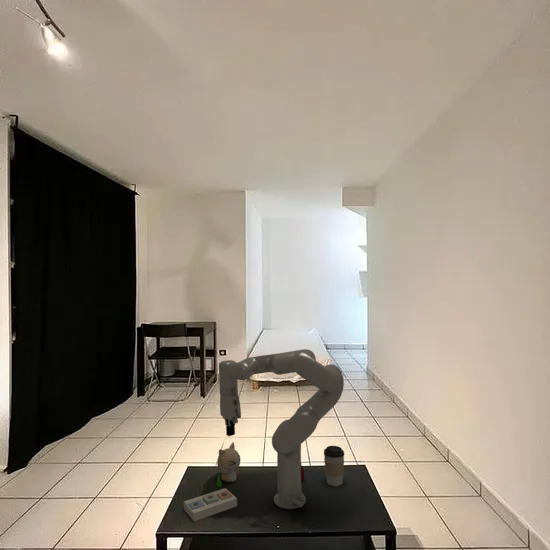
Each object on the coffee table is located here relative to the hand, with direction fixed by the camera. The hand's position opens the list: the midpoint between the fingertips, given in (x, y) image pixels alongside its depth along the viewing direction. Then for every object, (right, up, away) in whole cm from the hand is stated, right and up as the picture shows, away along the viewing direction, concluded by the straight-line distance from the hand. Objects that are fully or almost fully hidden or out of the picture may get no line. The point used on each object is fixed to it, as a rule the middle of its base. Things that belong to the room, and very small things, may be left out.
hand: (230, 434), depth 167 cm
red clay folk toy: (+28, -25, +10) cm, 38 cm away
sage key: (-7, -23, -11) cm, 26 cm away
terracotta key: (-2, -23, -7) cm, 25 cm away
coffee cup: (+45, -24, +8) cm, 51 cm away
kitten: (-2, -25, +12) cm, 28 cm away
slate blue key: (-12, -23, -14) cm, 30 cm away
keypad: (-7, -24, -11) cm, 27 cm away
